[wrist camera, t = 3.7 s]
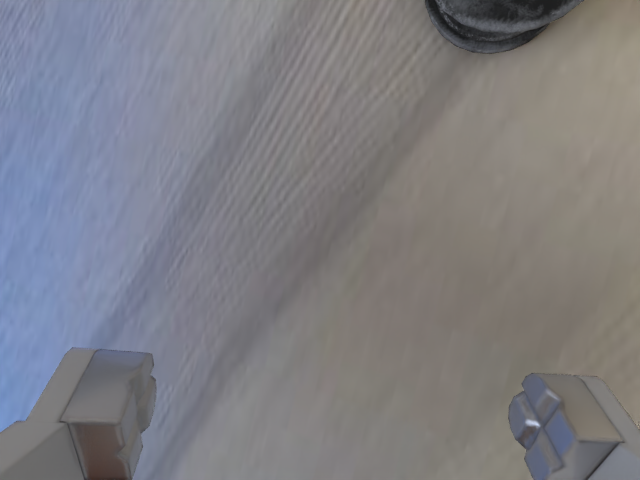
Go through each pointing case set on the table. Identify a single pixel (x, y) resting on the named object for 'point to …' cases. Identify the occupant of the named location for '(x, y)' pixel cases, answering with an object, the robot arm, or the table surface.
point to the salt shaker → (494, 21)
